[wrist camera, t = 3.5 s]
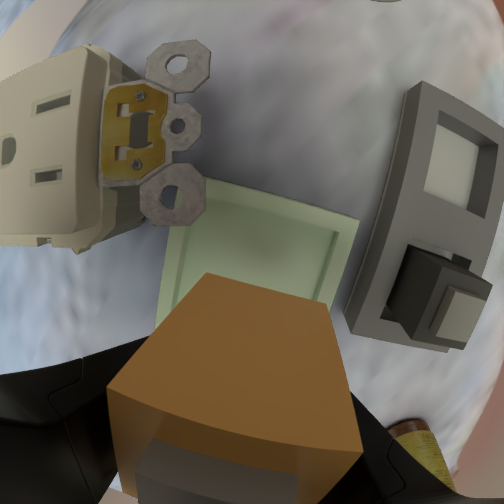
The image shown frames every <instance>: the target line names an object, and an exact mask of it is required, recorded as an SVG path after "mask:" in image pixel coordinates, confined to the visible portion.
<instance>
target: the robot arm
mask: <svg viewBox="0 0 504 504" xmlns="http://www.w3.org/2000/svg"><path fill="white" fill-rule="evenodd" d="M148 338H149V336H147V337H144V338H141V339H138V340H135V341H132V342H129V343H126V344H123V345H120V346H117V347H114V348H111V349H108V350H104V351H101V352H98V353H95V354H92V355H89V356H85V357H83V358H82V359H81V358H79V359H75V360H72V361H69V362H65V363H61V364H58V365H54V366H49V367H44V368H39V369H34V370H28V371H22V372H15V373H9V374H2V375H0V504H98V503H99V502H100V500H101V498H102V497H103V495H104V493H105V492H106V490H107V489H108V487H109V485H110V484H111V482H112V480H113V479H114V477H115V476H116V474H117V472H118V468H117V463H116V457H115V452H114V446H113V439H112V433H111V425H110V418H109V409H108V399H107V388H106V387H107V386H108V384H109V383H110V382H111V381H112V380H113V378H114V377H115V376H116V375H117V374H118V373H119V371H120V370H121V369H122V368H123V367H124V365H125V364H126V363H127V362H128V361H129V360H130V358H131V357H132V356H133V355H134V354H135V353H136V351H137V350H138V349H139V348H140V347H141V346H142V345H143V343H144V342H145V341H146V340H147V339H148ZM350 394H351V398H352V402H353V406H354V411H355V415H356V419H357V424H358V428H359V433H360V438H361V442H362V447H363V453H362V455H361V456H360V457H359V458H358V459H357V461H356V462H355V463H354V464H353V465H352V467H351V468H350V469H349V470H348V471H347V472H346V474H345V475H344V476H343V477H342V478H341V479H340V480H339V481H338V483H337V484H336V485H335V486H334V487H333V488H332V489H331V490H330V491H329V492H328V493H327V494H326V495H325V496H324V497H323V498H322V499H321V500H320V501H319V502H318V503H317V504H504V498H470V497H465V496H463V495H460V494H458V493H456V492H455V491H453V490H452V489H451V488H449V487H448V486H447V485H446V484H444V483H443V482H442V481H441V480H439V479H438V478H437V477H436V476H435V475H433V474H432V473H431V472H430V471H429V470H427V469H426V468H425V467H424V466H423V465H422V464H420V463H419V462H418V461H417V460H416V459H415V458H414V457H413V456H412V455H411V454H410V453H409V452H408V451H407V450H405V449H404V448H403V447H402V445H401V444H400V443H399V442H398V441H397V440H396V439H393V436H392V435H391V434H390V433H389V432H388V431H387V430H386V429H385V428H384V427H383V426H382V425H381V423H380V422H379V421H378V420H377V419H376V418H375V417H374V416H373V415H372V414H371V413H370V412H369V411H368V410H367V409H366V407H365V406H364V405H363V404H362V403H361V402H360V401H359V400H358V399H357V398H356V397H355V396H354V395H353V393H352V392H351V391H350ZM138 503H139V501H138Z"/></svg>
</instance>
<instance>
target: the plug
mask: <svg viewBox="0 0 504 504" xmlns="http://www.w3.org/2000/svg"><path fill="white" fill-rule="evenodd" d="M106 388H107V399H108V409H109V418H110V425H111V433H112V439H113V446H114V452H115V457H116V463H117V468H118V473H119V478H120V482H121V486H122V491H123V492H124V493H126V494H128V495H130V496H133V497H135V498H138V501H139V504H317V503H318V502H319V501H320V500H321V499H322V498H323V497H324V496H325V495H326V494H327V493H328V492H329V491H330V490H331V489H332V488H333V487H334V486H335V485H336V484H337V483H338V481H339V480H340V479H341V478H342V477H343V476H344V475H345V474H346V472H347V471H348V470H349V469H350V468H351V467H352V465H353V464H354V463H355V462H356V461H357V459H358V458H359V457H360V456H361V455H362V453H363V447H362V442H361V438H360V433H359V428H358V424H357V419H356V415H355V411H354V406H353V402H352V398H351V394H350V390H349V385H348V381H347V377H346V374H345V370H344V366H343V362H342V358H341V354H340V351H339V347H338V343H337V339H336V336H335V332H334V329H333V325H332V321H331V318H330V314H329V311H328V308H327V304H326V303H322V302H318V301H314V300H310V299H306V298H302V297H298V296H294V295H290V294H286V293H282V292H279V291H275V290H271V289H267V288H263V287H259V286H256V285H252V284H248V283H245V282H241V281H237V280H233V279H230V278H226V277H223V276H219V275H215V274H212V273H208V272H206V273H205V274H204V275H203V276H202V277H201V278H200V279H199V281H198V282H197V283H196V284H195V285H194V286H193V287H192V288H191V290H190V291H189V292H188V293H187V294H186V295H185V296H184V298H183V299H182V300H181V301H180V302H179V303H178V304H177V305H176V307H175V308H174V309H173V310H172V311H171V312H170V313H169V315H168V316H167V317H166V318H165V319H164V320H163V321H162V323H161V324H160V325H159V326H158V327H157V328H156V329H155V331H154V332H153V333H152V334H151V335H150V336H149V338H148V339H147V340H146V341H145V342H144V343H143V345H142V346H141V347H140V348H139V349H138V350H137V351H136V353H135V354H134V355H133V356H132V357H131V358H130V360H129V361H128V362H127V363H126V364H125V365H124V367H123V368H122V369H121V370H120V371H119V373H118V374H117V375H116V376H115V377H114V378H113V380H112V381H111V382H110V383H109V384H108V386H107V387H106Z"/></svg>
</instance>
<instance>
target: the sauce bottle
mask: <svg viewBox="0 0 504 504" xmlns="http://www.w3.org/2000/svg"><path fill="white" fill-rule="evenodd" d="M387 431H388V432H389V433H390V434H391V435H392V436H393V439H396V440H397V441H398V442H399V443H400V444H401V445H402V447H403V448H404V449H405V450H407V451H408V452H409V453H410V454H411V455H412V456H413V457H414V458H415V459H416V460H417V461H418V462H419V463H420V464H422V465H423V466H424V467H425V468H426V469H427V470H429V471H430V472H431V473H432V474H433V475H435V476H436V477H437V478H438V479H439V480H441V481H442V482H443V483H444V484H446V485H447V486H448V487H449V488H451V489H452V490H453V491H455V492H456V489H455V487H454V484H453V481H452V478H451V476H450V473H449V470H448V468H447V465H446V463H445V460H444V458H443V455H442V453H441V450H440V448H439V446H438V443H437V441H436V439H435V436H434V434H433V433H432V432H431V431H430V428H429V427H428V425H427V424H426V423H424V422H423V421H420V420H411V421H406V422H403V423H400V424H398V425H395V426H393V427H391V428H390V429H389V430H387ZM456 493H457V492H456Z"/></svg>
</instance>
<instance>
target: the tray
mask: <svg viewBox="0 0 504 504" xmlns="http://www.w3.org/2000/svg"><path fill="white" fill-rule="evenodd" d="M205 178H206V210H205V211H204V212H203V213H202V214H201V215H200V216H199V218H198V219H197V220H196V221H195V222H194V223H193V224H192V225H191V226H170V230H169V235H168V241H167V246H166V252H165V258H164V264H163V271H162V277H161V284H160V291H159V299H158V306H157V314H156V322H155V329H156V328H157V327H158V326H159V325H160V324H161V323H162V321H163V320H164V319H165V318H166V317H167V316H168V315H169V313H170V312H171V311H172V310H173V309H174V308H175V307H176V305H177V304H178V303H179V302H180V301H181V300H182V299H183V298H184V296H185V295H186V294H187V293H188V292H189V291H190V290H191V288H192V287H193V286H194V285H195V284H196V283H197V282H198V281H199V279H200V278H201V277H202V276H203V275H204V274H205V273H206V272H208V273H212V274H215V275H219V276H223V277H226V278H230V279H233V280H237V281H241V282H245V283H248V284H252V285H256V286H259V287H263V288H267V289H271V290H275V291H279V292H282V293H286V294H290V295H294V296H298V297H302V298H306V299H310V300H314V301H318V302H322V303H326V304H327V308H328V311H329V310H330V308H331V305H332V302H333V300H334V297H335V294H336V291H337V289H338V286H339V283H340V280H341V277H342V275H343V272H344V269H345V266H346V263H347V260H348V257H349V254H350V251H351V248H352V245H353V241H354V238H355V235H356V232H357V229H358V225H359V222H360V221H359V220H357V219H356V218H354V217H351V216H348V215H344V214H341V213H338V212H335V211H331V210H328V209H325V208H321V207H318V206H314V205H311V204H307V203H304V202H300V201H297V200H293V199H290V198H286V197H283V196H279V195H275V194H271V193H268V192H264V191H260V190H256V189H252V188H248V187H244V186H240V185H236V184H232V183H228V182H224V181H220V180H216V179H211V178H207V177H205ZM182 199H183V194H182V192H181V191H180V189H179V188H178V190H177V194H176V199H175V204H174V209H175V208H178V207H179V206H180V204H181V203H182Z"/></svg>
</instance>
